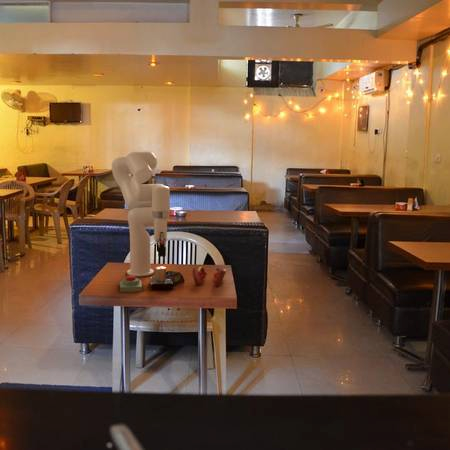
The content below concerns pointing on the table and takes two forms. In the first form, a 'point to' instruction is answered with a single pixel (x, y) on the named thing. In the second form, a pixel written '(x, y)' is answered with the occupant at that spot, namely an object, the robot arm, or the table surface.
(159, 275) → the dial
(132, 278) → the lid button
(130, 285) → the button base
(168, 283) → the dial panel
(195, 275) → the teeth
